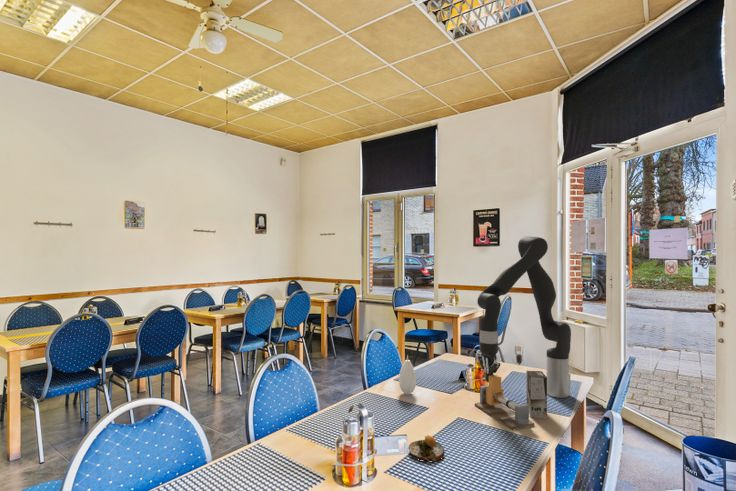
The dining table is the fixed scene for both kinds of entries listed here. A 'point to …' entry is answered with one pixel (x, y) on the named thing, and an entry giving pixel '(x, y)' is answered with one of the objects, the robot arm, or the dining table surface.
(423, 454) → the bowl of food
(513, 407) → the pipe
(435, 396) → the dining table surface
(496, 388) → the collar
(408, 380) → the white teardrop vase
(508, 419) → the base board
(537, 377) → the coffee box
